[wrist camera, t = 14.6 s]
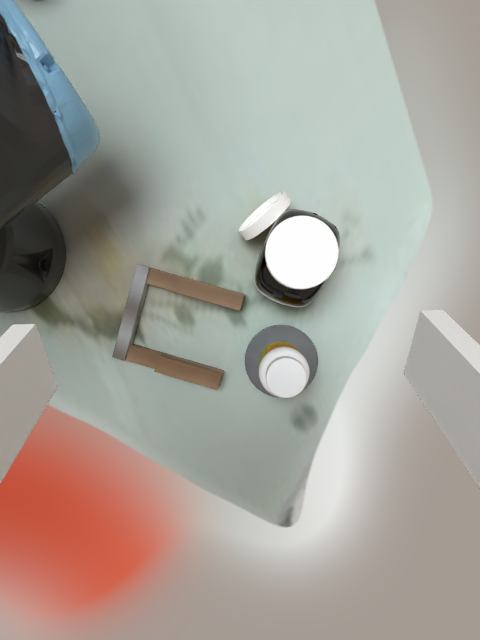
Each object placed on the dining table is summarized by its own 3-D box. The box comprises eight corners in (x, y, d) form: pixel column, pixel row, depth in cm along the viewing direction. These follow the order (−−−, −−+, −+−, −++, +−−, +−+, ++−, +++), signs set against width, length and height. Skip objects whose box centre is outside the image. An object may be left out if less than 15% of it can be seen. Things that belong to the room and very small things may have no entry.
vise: (219, 385, 47) (216, 391, 44) (117, 355, 47) (107, 358, 44) (245, 294, 46) (244, 294, 43) (141, 265, 46) (133, 262, 43)
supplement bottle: (259, 339, 45) (259, 349, 36) (302, 340, 45) (315, 351, 35) (257, 382, 46) (257, 404, 36) (301, 384, 45) (313, 406, 36)
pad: (266, 407, 47) (266, 409, 46) (232, 346, 46) (232, 347, 46) (329, 374, 46) (330, 375, 45) (295, 312, 46) (295, 312, 45)
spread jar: (303, 313, 46) (318, 318, 34) (220, 279, 46) (207, 272, 34) (341, 224, 45) (370, 197, 33) (256, 190, 45) (256, 151, 34)
